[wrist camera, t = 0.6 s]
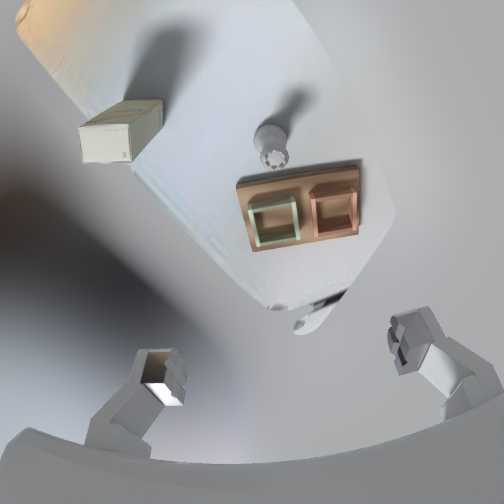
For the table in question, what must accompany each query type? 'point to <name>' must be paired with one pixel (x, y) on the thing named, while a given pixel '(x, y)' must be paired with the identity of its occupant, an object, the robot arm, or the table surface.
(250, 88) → the table surface
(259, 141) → the rook chess piece
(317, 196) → the board
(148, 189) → the table surface
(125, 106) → the skincare box
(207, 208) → the table surface
